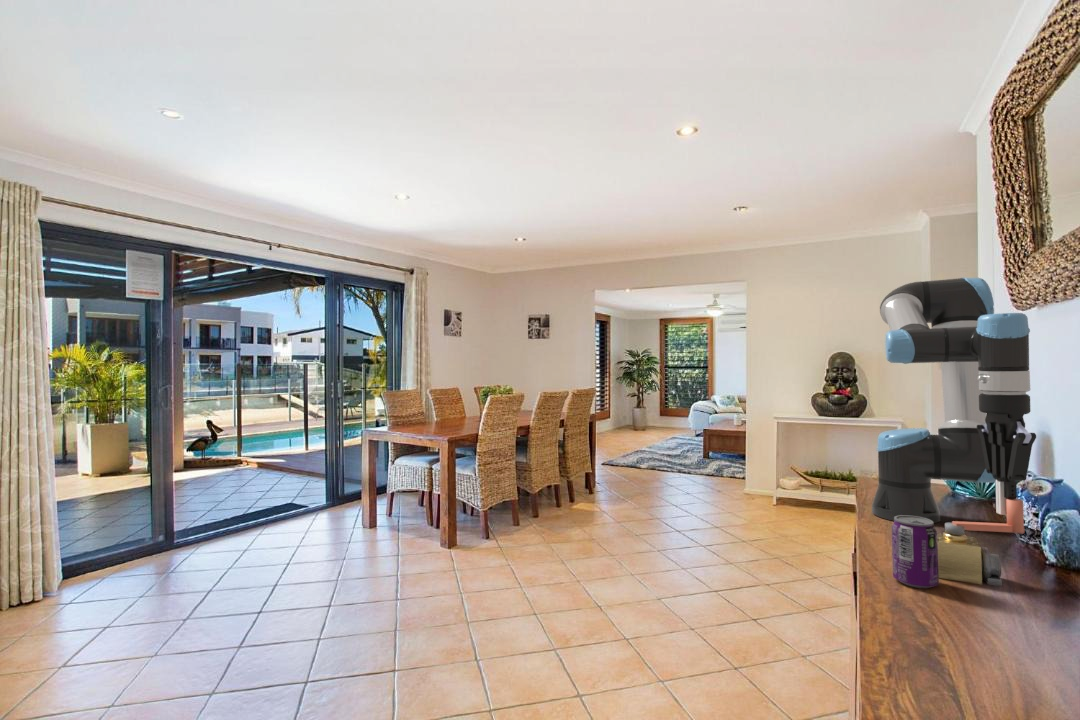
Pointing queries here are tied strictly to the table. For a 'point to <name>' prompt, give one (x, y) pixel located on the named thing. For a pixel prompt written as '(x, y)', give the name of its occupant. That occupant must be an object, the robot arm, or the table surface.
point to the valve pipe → (966, 560)
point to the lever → (1013, 523)
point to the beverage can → (915, 551)
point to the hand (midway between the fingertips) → (1006, 513)
